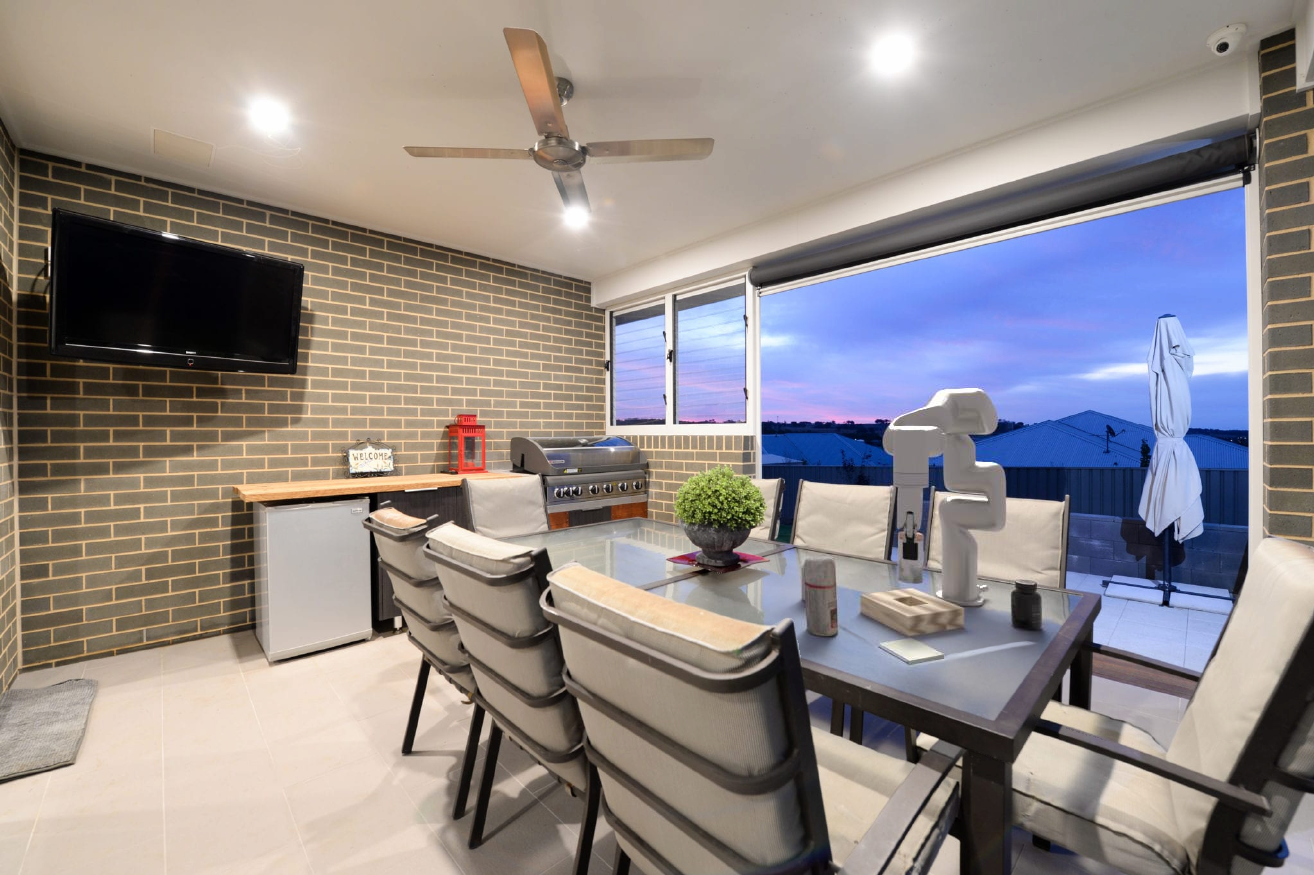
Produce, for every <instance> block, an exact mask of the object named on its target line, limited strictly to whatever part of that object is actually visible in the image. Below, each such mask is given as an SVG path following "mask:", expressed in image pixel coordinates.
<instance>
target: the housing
mask: <svg viewBox="0 0 1314 875" xmlns="http://www.w3.org/2000/svg"><path fill="white" fill-rule="evenodd" d="M859 596H860V608H859V609H860V613H861V614H862V615H865V616H867V617H869V618H871V619H873V620H875V621H877V622H879V623H881V624H883V625H885V626H886V627H889V628H891V629H893V630H894V631H896V632H899V633H900V634H903V635H904V636H907V637H909V638H910V637H913V636H920V635H926V634H932V633H933V634H934V633H937V632H944V631H949V630H950V631H951V630H956V629H961V628H965V608H964V607H963V606H960V605H955V604H952V603H949V602H947V601H944V600H942V599H939V598H937V597H936V596H933V595H930V594H928V593H926V592H924V591H920V590H918V589H915V588H913V587H911V588H910V587H908V588H903V589H902V588H901V589H893V590H887V591H886V590H885V591H879V592H872V593H864V594H862V593H861V594H859Z"/></svg>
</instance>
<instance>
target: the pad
mask: <svg viewBox="0 0 1314 875" xmlns="http://www.w3.org/2000/svg"><path fill="white" fill-rule="evenodd" d="M877 644H878V646H877V648H879V649H880V650H882V651H884V652H886V653H888V654H889V655H891V656H893V657H895V658H896V659H898V660H900V661H901V662H904V663H905V664H907V665H908V666H911V665H916V664H922V663H928V662H933V661H938V660H939V661H940V660H944V659H945V653H943V652H940V651H938V650H937V649H934V648H932V647H931V646H929V645H926V644H925V643H923V642H920V641H918V640H916V639H915V638H912V637H909V638H903V639H902V638H901V639H896V640H890V641H884V642H880V643H877ZM879 645H880V646H879ZM881 646H882V647H884V648H885V649H884V648H882V647H881ZM886 649H887V650H886ZM888 650H889V651H891V652H889V651H888ZM892 652H893V653H895V654H896V655H895V654H893V653H892ZM897 655H898V656H900V657H898V656H897ZM901 657H902V658H904V659H905V660H904V659H902V658H901Z"/></svg>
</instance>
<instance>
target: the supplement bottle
mask: <svg viewBox="0 0 1314 875" xmlns="http://www.w3.org/2000/svg"><path fill="white" fill-rule="evenodd" d="M1014 588H1015V589H1013V590H1012V591H1011V592H1010V621H1011V625H1012V626H1013V625H1014V627H1015V628H1017V629H1021V630H1025V631H1032V632H1033V631H1034V632H1035V631H1039V630H1042V628H1043V598H1042V595H1041V594H1040V593H1039V592H1037V591H1038V583H1037V582H1036V581H1035V580H1029V579H1016V580H1014Z"/></svg>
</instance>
